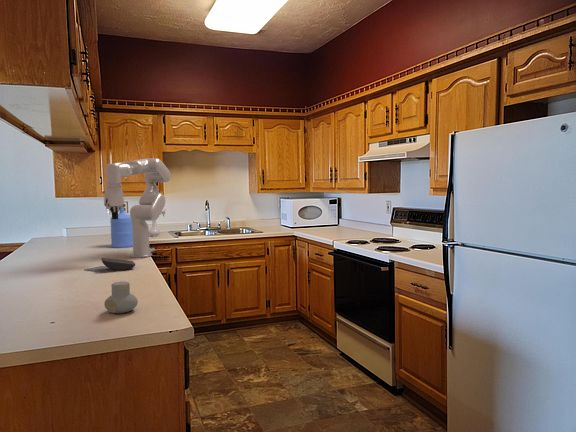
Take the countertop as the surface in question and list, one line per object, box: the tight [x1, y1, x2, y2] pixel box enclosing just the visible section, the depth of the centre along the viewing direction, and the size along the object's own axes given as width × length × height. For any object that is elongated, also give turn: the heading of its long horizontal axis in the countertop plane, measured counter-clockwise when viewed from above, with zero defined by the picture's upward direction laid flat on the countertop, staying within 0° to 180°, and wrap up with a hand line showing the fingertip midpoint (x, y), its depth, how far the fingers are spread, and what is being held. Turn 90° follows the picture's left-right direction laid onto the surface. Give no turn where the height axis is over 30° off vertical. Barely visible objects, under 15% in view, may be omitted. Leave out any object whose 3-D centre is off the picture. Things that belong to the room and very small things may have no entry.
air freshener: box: [104, 281, 139, 314], centre depth 153 cm, size 11×8×10 cm
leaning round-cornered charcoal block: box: [101, 257, 136, 272], centre depth 228 cm, size 16×5×9 cm
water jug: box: [110, 206, 133, 249], centre depth 313 cm, size 16×16×28 cm
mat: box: [83, 265, 117, 274], centre depth 229 cm, size 11×16×1 cm
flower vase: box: [149, 209, 166, 238], centre depth 375 cm, size 13×18×25 cm
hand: (115, 219), depth 244 cm, fingers closed
